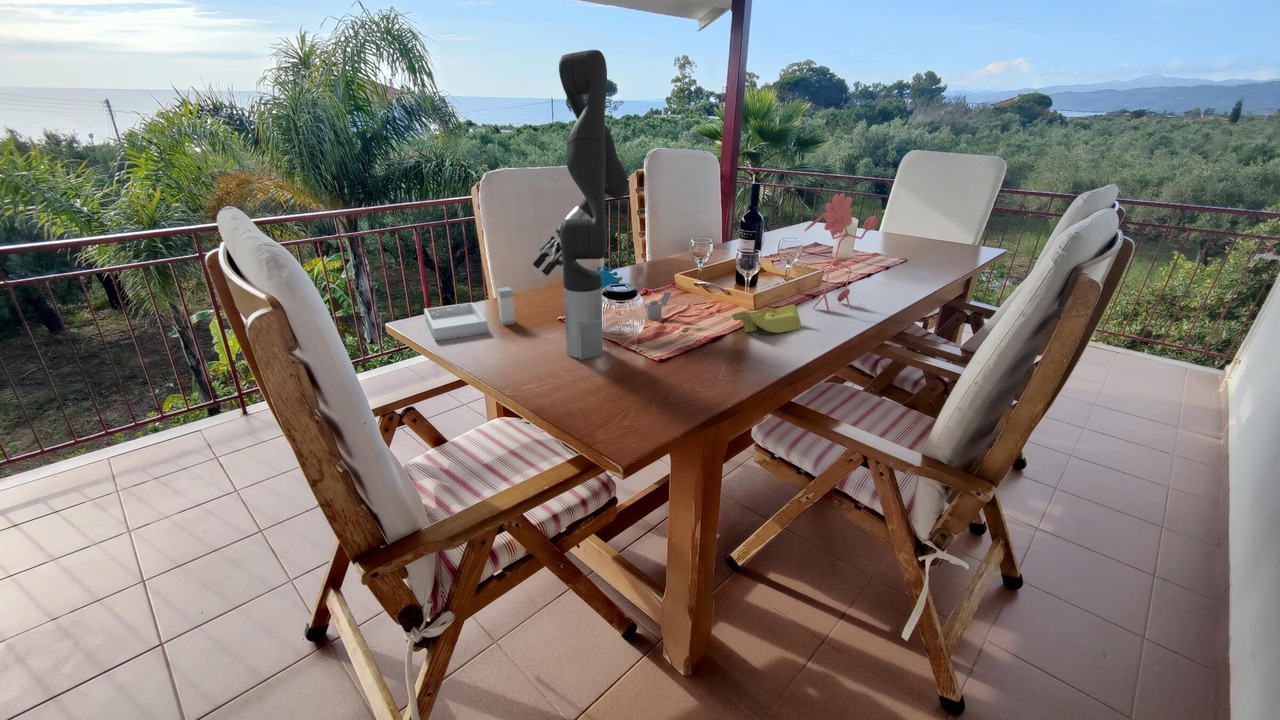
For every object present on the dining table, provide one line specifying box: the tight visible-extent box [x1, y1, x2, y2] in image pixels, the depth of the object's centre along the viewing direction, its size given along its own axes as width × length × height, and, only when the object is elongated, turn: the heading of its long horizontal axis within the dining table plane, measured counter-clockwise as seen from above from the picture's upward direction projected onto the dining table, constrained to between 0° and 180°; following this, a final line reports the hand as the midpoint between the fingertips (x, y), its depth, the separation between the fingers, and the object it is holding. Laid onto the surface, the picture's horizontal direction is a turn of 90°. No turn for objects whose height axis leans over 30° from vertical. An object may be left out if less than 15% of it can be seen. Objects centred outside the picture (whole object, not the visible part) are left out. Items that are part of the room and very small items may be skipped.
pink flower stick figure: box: [794, 192, 879, 313], centre depth 170 cm, size 15×26×35 cm, turn 118°
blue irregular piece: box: [593, 265, 624, 290], centre depth 190 cm, size 11×6×10 cm
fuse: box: [496, 286, 516, 326], centre depth 156 cm, size 4×4×10 cm
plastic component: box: [731, 304, 802, 334], centre depth 156 cm, size 20×7×10 cm
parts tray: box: [423, 302, 489, 342], centre depth 154 cm, size 18×14×4 cm
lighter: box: [646, 289, 672, 320], centre depth 163 cm, size 7×2×8 cm, turn 106°
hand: (539, 270), depth 157 cm, fingers open, 8 cm apart
